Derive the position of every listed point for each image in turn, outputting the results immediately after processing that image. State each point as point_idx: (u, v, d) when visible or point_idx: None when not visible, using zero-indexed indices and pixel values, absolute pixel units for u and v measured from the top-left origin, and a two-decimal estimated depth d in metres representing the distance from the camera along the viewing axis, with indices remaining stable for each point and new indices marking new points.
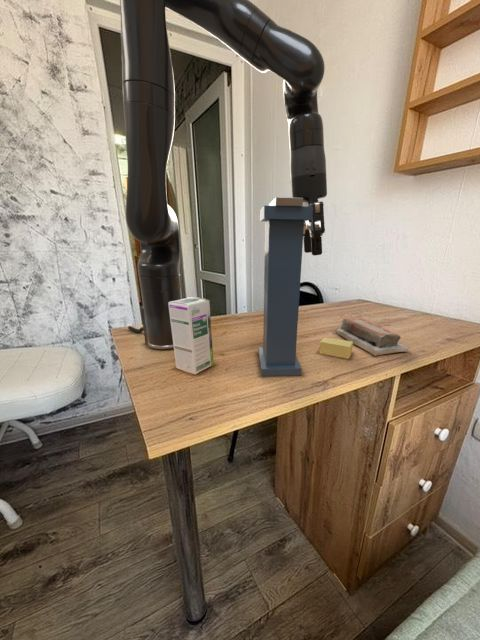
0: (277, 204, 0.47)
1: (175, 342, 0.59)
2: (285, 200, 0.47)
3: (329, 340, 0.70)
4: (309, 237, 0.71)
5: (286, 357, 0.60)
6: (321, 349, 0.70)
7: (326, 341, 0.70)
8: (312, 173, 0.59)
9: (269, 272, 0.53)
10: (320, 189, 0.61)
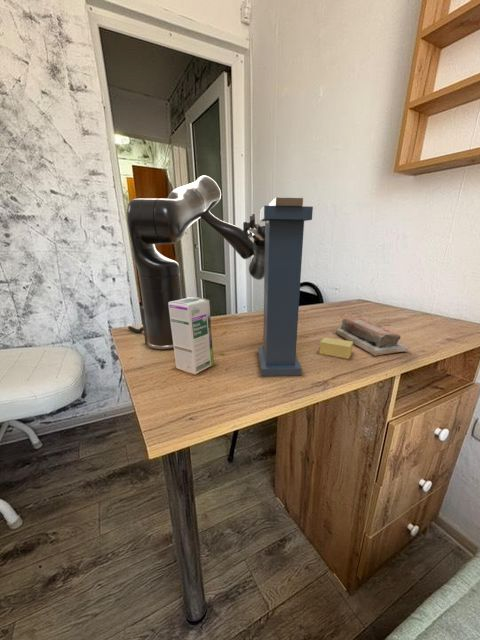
0: (277, 204, 0.47)
1: (175, 342, 0.59)
2: (285, 200, 0.47)
3: (329, 340, 0.70)
4: None
5: (286, 357, 0.60)
6: (321, 349, 0.70)
7: (326, 341, 0.70)
8: None
9: (269, 272, 0.53)
10: None
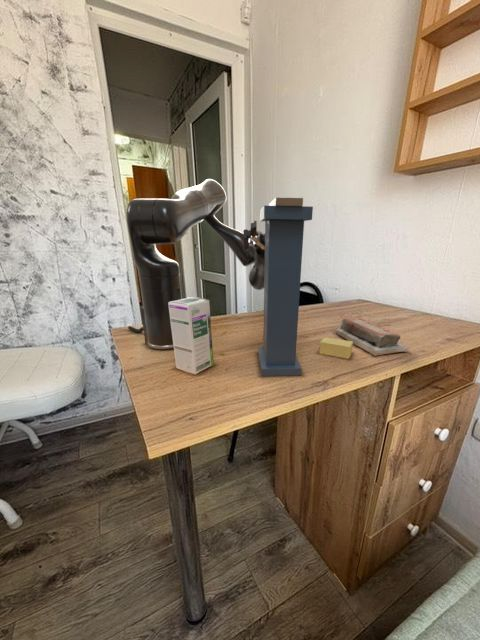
0: (277, 204, 0.47)
1: (175, 342, 0.59)
2: (285, 200, 0.47)
3: (329, 340, 0.70)
4: None
5: (286, 357, 0.60)
6: (321, 349, 0.70)
7: (326, 341, 0.70)
8: None
9: (269, 272, 0.53)
10: None
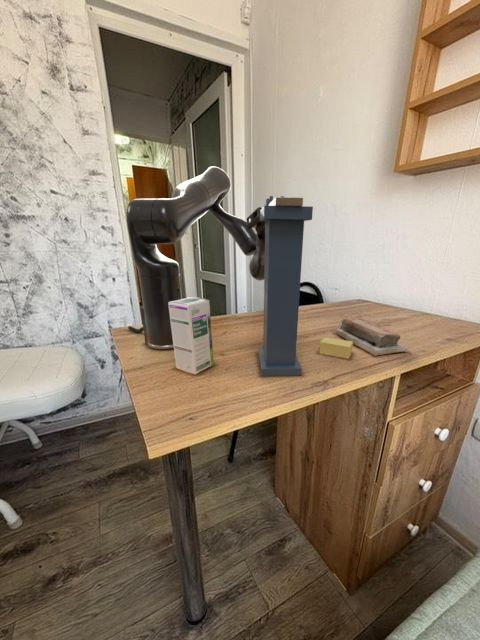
0: (277, 204, 0.47)
1: (175, 342, 0.59)
2: (285, 200, 0.47)
3: (329, 340, 0.70)
4: None
5: (286, 357, 0.60)
6: (321, 349, 0.70)
7: (326, 341, 0.70)
8: None
9: (269, 272, 0.53)
10: None
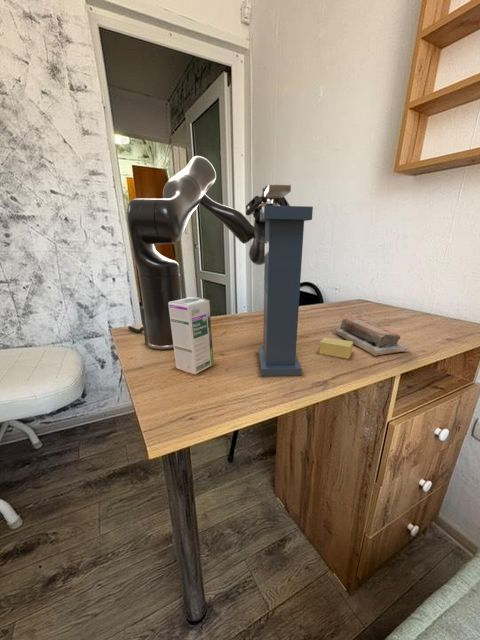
0: (270, 190, 0.59)
1: (175, 342, 0.59)
2: (276, 187, 0.58)
3: (329, 340, 0.70)
4: None
5: (286, 357, 0.60)
6: (321, 349, 0.70)
7: (326, 341, 0.70)
8: None
9: (269, 272, 0.53)
10: None
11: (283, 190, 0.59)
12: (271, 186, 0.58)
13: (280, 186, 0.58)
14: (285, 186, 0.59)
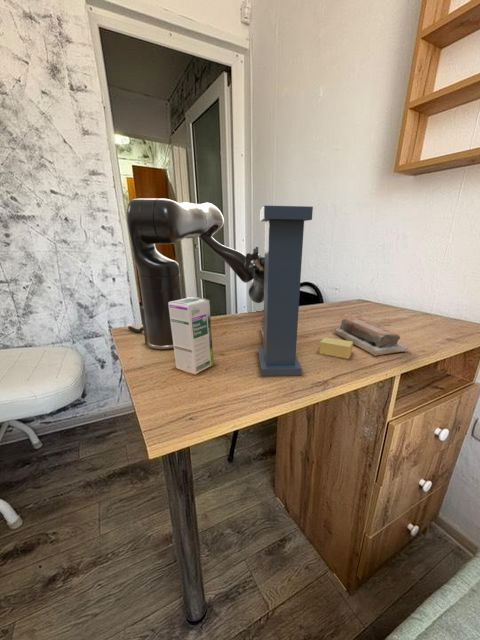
0: None
1: (175, 342, 0.59)
2: None
3: (329, 340, 0.70)
4: None
5: (286, 357, 0.60)
6: (321, 349, 0.70)
7: (326, 341, 0.70)
8: None
9: (269, 272, 0.53)
10: None
11: None
12: None
13: None
14: None
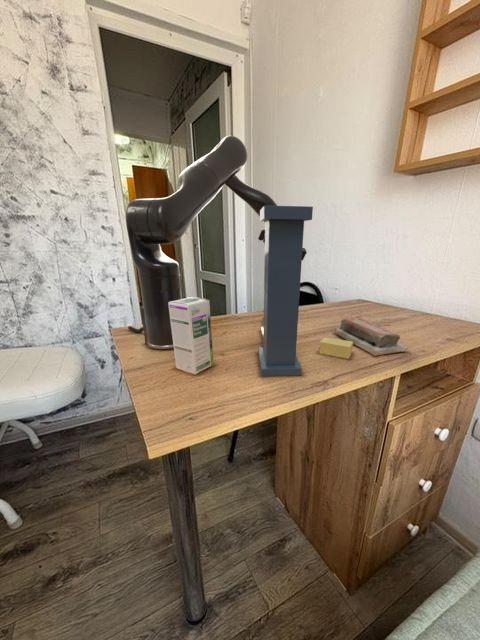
0: None
1: (175, 342, 0.59)
2: None
3: (329, 340, 0.70)
4: None
5: (286, 357, 0.60)
6: (321, 349, 0.70)
7: (326, 341, 0.70)
8: None
9: (269, 272, 0.53)
10: None
11: None
12: None
13: None
14: None
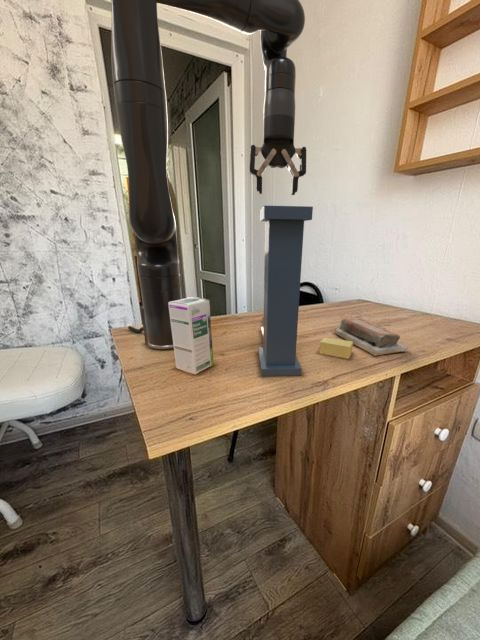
0: None
1: (175, 342, 0.59)
2: None
3: (329, 340, 0.70)
4: None
5: (286, 357, 0.60)
6: (321, 349, 0.70)
7: (326, 341, 0.70)
8: None
9: (269, 272, 0.53)
10: None
11: None
12: None
13: None
14: None
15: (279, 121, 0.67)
